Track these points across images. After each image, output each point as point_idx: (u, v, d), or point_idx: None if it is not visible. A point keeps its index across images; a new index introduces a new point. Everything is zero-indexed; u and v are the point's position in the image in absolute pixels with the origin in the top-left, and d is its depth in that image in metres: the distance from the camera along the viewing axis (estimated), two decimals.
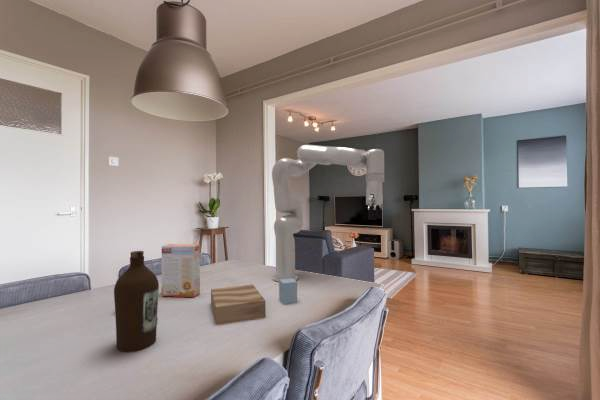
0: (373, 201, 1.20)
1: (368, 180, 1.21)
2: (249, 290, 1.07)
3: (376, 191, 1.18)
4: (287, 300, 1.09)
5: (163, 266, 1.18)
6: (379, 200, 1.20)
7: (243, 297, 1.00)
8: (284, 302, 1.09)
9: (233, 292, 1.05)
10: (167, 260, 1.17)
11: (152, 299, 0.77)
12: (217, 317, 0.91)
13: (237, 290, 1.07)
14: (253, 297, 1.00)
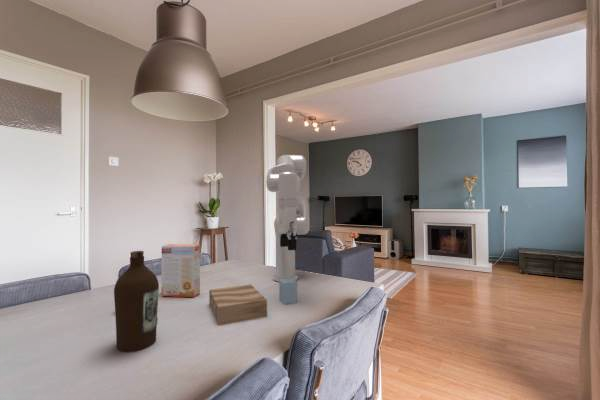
0: (291, 229, 1.09)
1: (285, 206, 1.08)
2: (248, 290, 1.07)
3: (296, 218, 1.08)
4: (287, 300, 1.09)
5: (163, 266, 1.18)
6: None
7: (244, 297, 1.00)
8: (284, 302, 1.09)
9: (233, 292, 1.05)
10: (166, 260, 1.17)
11: (152, 299, 0.77)
12: (219, 317, 0.91)
13: (236, 290, 1.07)
14: (254, 297, 1.00)
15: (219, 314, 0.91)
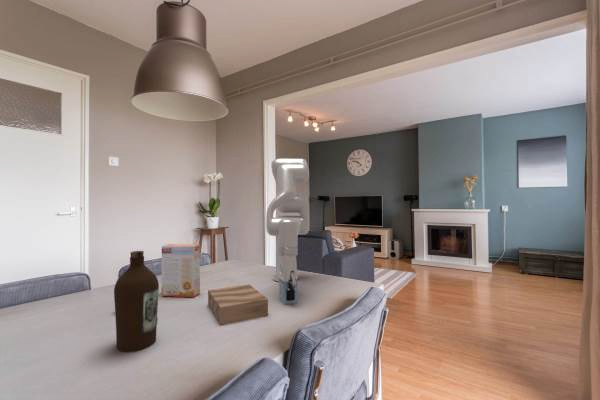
0: (291, 277, 1.09)
1: (285, 254, 1.08)
2: (248, 290, 1.08)
3: (296, 267, 1.08)
4: None
5: (163, 266, 1.18)
6: None
7: (244, 297, 1.00)
8: (284, 302, 1.09)
9: (232, 292, 1.05)
10: (167, 260, 1.17)
11: (152, 299, 0.77)
12: (221, 317, 0.91)
13: (236, 290, 1.07)
14: (254, 296, 1.00)
15: (221, 314, 0.91)
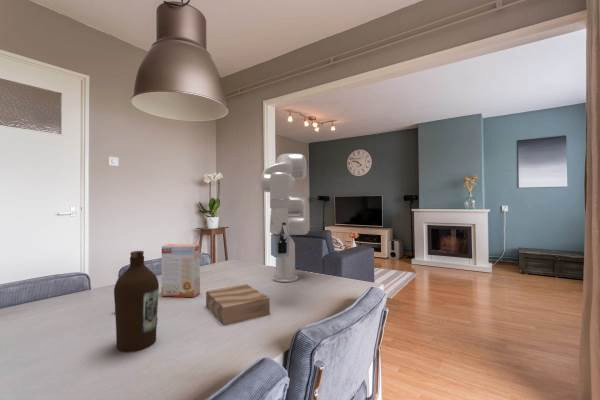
0: (282, 230, 1.08)
1: (277, 207, 1.07)
2: (246, 290, 1.08)
3: (288, 219, 1.07)
4: None
5: (163, 266, 1.18)
6: None
7: (245, 296, 1.00)
8: (276, 255, 1.07)
9: (232, 292, 1.05)
10: (166, 260, 1.17)
11: (152, 299, 0.77)
12: (225, 317, 0.91)
13: (234, 290, 1.07)
14: (255, 296, 1.01)
15: (224, 314, 0.90)
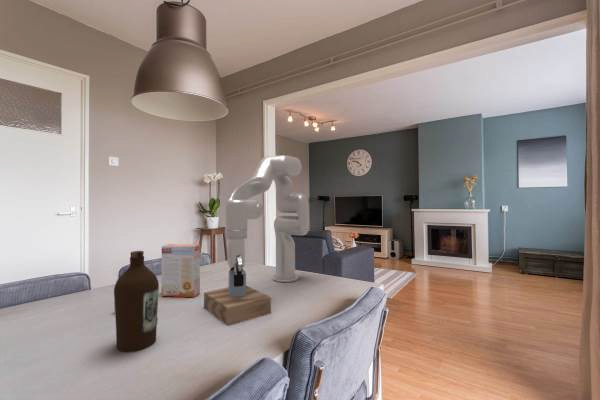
0: (238, 263, 1.00)
1: (232, 238, 1.00)
2: None
3: (243, 251, 0.99)
4: (234, 293, 1.00)
5: (163, 266, 1.18)
6: None
7: (246, 296, 1.01)
8: (231, 295, 1.00)
9: None
10: (166, 260, 1.17)
11: (152, 299, 0.77)
12: (229, 318, 0.91)
13: None
14: (256, 295, 1.02)
15: (228, 315, 0.90)
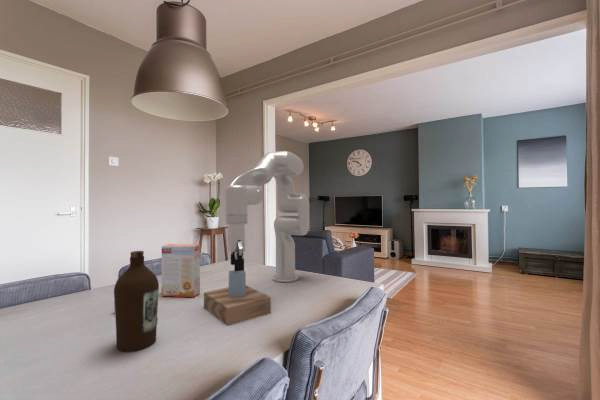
0: None
1: (232, 223, 1.00)
2: None
3: (243, 236, 1.00)
4: (234, 293, 1.00)
5: (163, 266, 1.18)
6: None
7: (246, 296, 1.01)
8: (230, 295, 1.00)
9: None
10: (167, 260, 1.17)
11: (152, 299, 0.77)
12: (228, 318, 0.91)
13: None
14: (256, 295, 1.02)
15: (228, 315, 0.90)
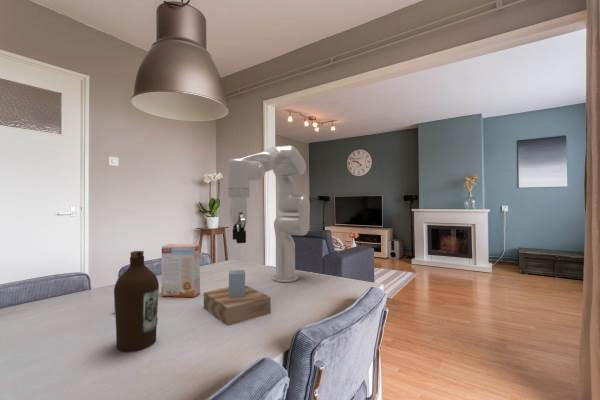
0: None
1: (234, 195, 1.00)
2: (245, 290, 1.08)
3: (245, 209, 1.00)
4: (233, 293, 1.00)
5: (163, 266, 1.18)
6: None
7: (246, 296, 1.01)
8: (230, 295, 1.00)
9: None
10: (167, 260, 1.17)
11: (152, 299, 0.77)
12: (228, 318, 0.90)
13: None
14: (256, 295, 1.02)
15: (228, 315, 0.90)
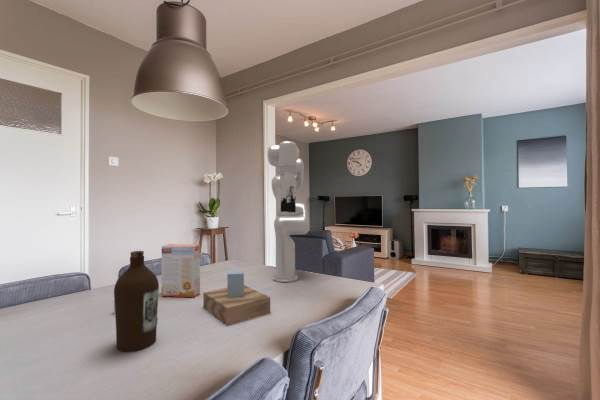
0: (290, 194, 1.19)
1: (285, 172, 1.18)
2: (245, 290, 1.08)
3: (295, 184, 1.18)
4: (232, 293, 1.00)
5: (163, 266, 1.18)
6: None
7: (246, 296, 1.01)
8: (228, 295, 1.00)
9: None
10: (166, 260, 1.17)
11: (152, 299, 0.77)
12: (228, 318, 0.90)
13: None
14: (255, 295, 1.02)
15: (228, 315, 0.90)
